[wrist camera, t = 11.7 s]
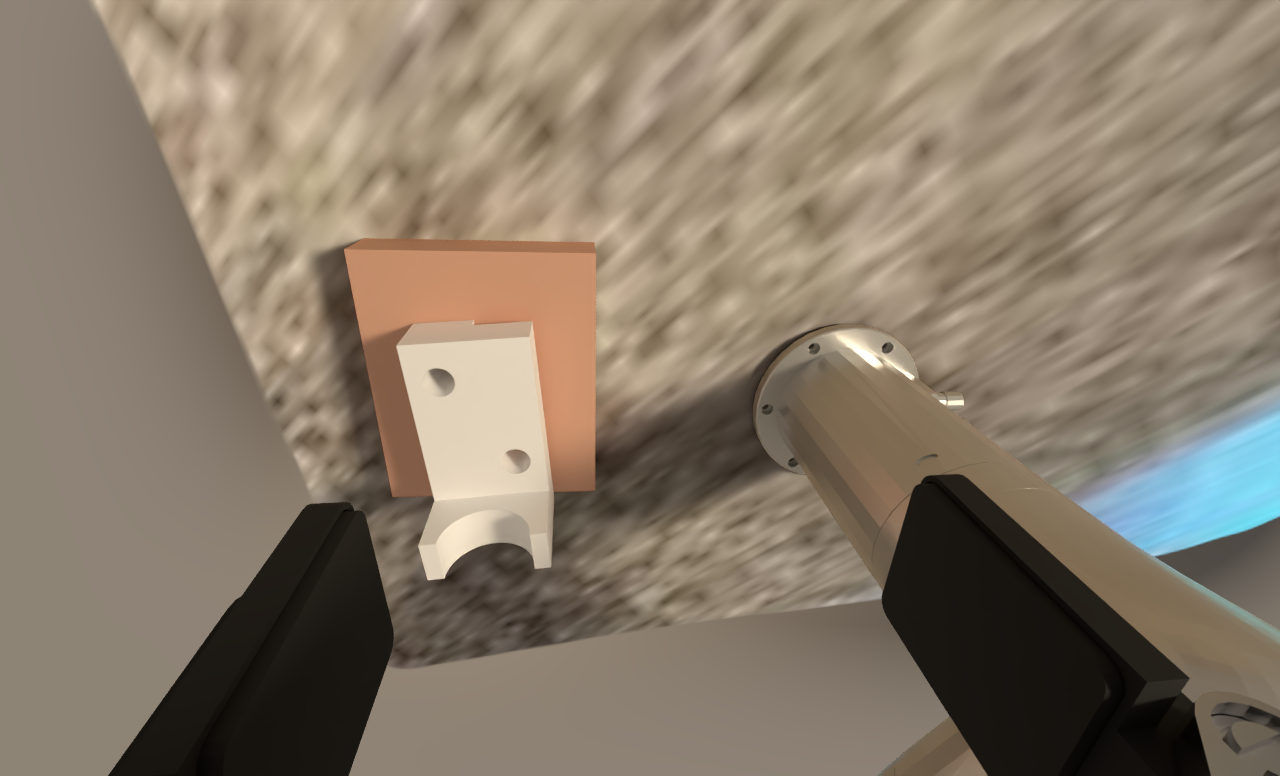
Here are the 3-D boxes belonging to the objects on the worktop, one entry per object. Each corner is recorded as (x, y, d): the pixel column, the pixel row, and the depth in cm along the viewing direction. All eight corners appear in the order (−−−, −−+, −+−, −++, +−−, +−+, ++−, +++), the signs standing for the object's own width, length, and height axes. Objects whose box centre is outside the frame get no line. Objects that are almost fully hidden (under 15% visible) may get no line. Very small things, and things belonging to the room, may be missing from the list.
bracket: (554, 489, 39) (551, 567, 32) (453, 499, 38) (427, 580, 31) (533, 316, 33) (523, 366, 26) (413, 323, 32) (371, 377, 26)
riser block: (593, 240, 35) (595, 253, 32) (593, 459, 43) (595, 490, 39) (368, 235, 34) (343, 249, 30) (408, 464, 41) (392, 497, 38)
